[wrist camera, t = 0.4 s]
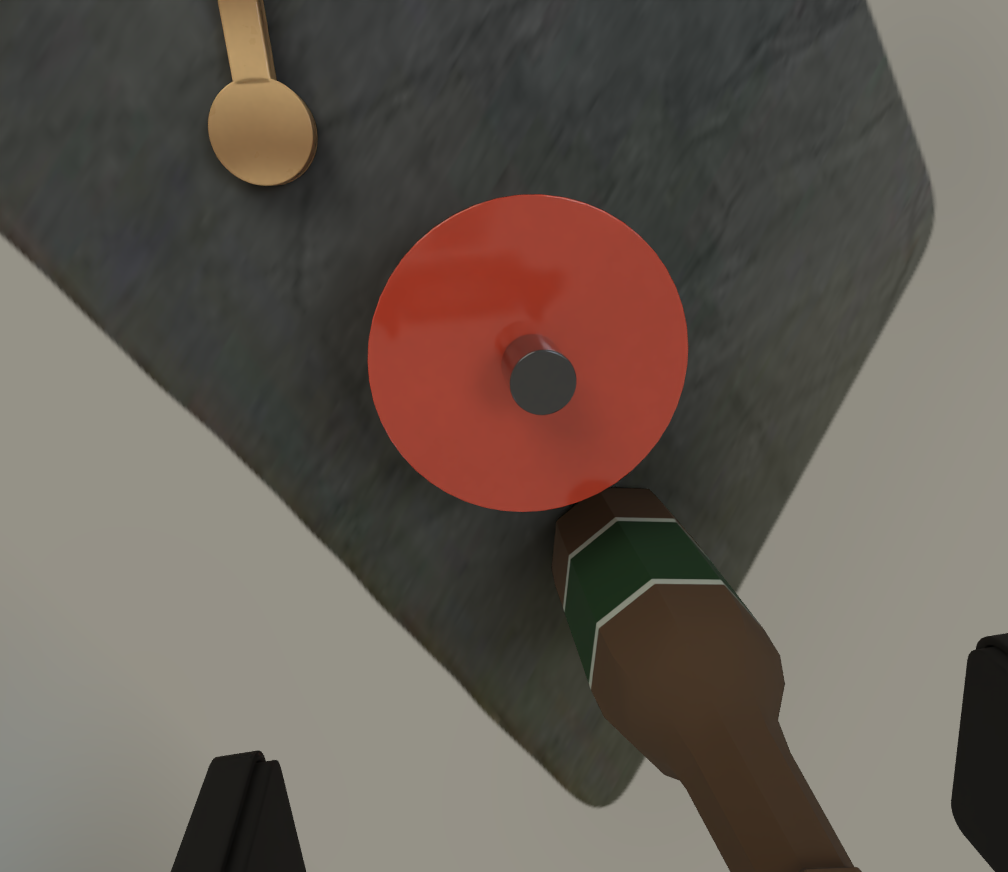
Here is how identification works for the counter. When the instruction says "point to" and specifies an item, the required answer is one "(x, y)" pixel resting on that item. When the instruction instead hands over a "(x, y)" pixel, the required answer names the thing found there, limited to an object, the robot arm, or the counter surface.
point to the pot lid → (527, 352)
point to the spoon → (258, 106)
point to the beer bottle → (688, 678)
